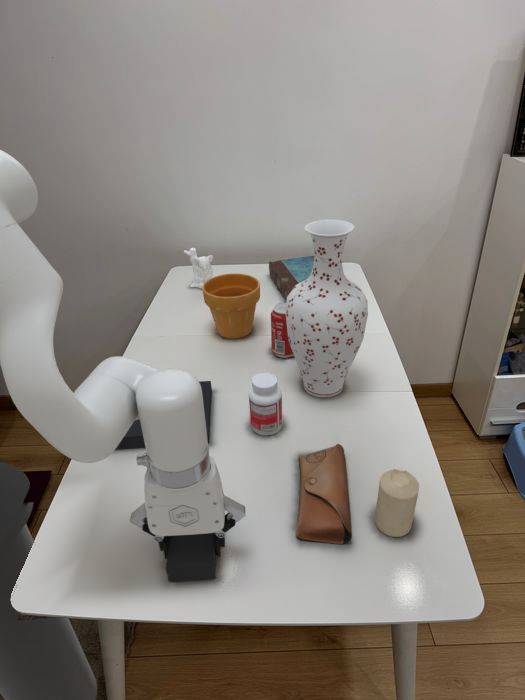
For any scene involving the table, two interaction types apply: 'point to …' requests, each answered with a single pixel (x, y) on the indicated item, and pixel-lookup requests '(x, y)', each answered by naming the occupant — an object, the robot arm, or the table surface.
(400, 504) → the candle
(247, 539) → the table surface
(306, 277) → the book
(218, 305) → the flower pot
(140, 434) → the base pad
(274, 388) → the pill bottle
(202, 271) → the white animal figurine
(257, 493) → the table surface
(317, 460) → the sunglasses case
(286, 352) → the beverage can
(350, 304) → the vase
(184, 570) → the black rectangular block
